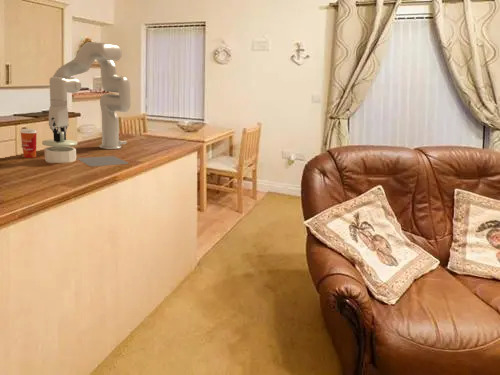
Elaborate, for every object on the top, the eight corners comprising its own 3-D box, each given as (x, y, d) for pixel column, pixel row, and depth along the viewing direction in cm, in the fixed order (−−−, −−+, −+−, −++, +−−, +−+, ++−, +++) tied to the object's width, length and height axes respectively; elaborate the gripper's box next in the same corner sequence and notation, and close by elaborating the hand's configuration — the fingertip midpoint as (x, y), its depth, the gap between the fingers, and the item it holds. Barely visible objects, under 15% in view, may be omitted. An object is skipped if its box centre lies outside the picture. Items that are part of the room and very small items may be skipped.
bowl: (70, 157, 226) (70, 145, 224) (79, 162, 216) (79, 150, 214) (41, 158, 217) (41, 147, 215) (50, 164, 207) (49, 152, 205)
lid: (71, 140, 225) (70, 129, 223) (82, 145, 213) (81, 133, 212) (38, 141, 215) (37, 129, 213) (47, 147, 203) (47, 134, 201)
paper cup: (17, 157, 217) (16, 129, 213) (30, 154, 223) (29, 127, 220) (29, 159, 214) (28, 131, 210) (42, 156, 221) (40, 129, 217)
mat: (113, 156, 235) (113, 155, 235) (129, 164, 220) (129, 163, 220) (76, 159, 222) (76, 158, 222) (90, 167, 207) (90, 166, 207)
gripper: (61, 101, 217) (62, 137, 222) (40, 103, 201) (42, 142, 206) (75, 103, 216) (76, 139, 221) (55, 104, 200) (56, 143, 205)
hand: (59, 140), depth 213 cm, fingers closed on lid, 4 cm apart
